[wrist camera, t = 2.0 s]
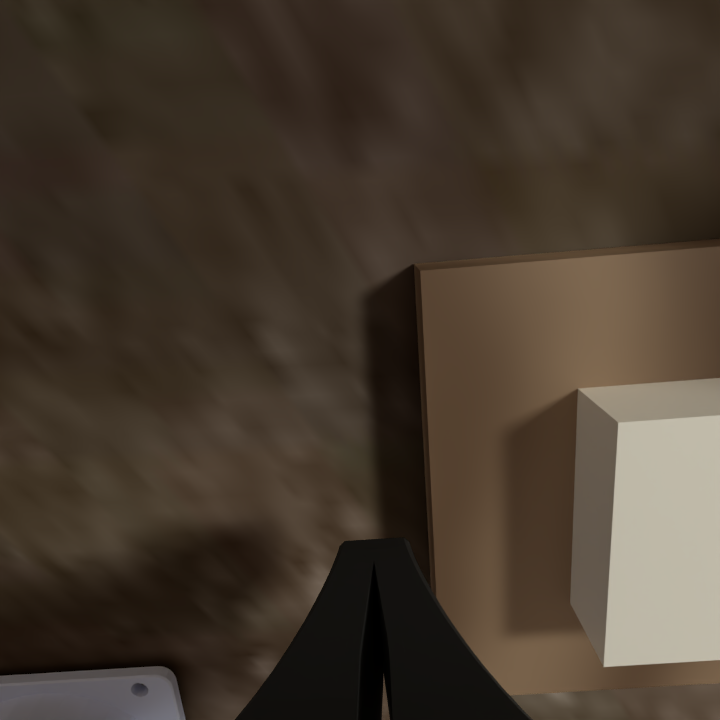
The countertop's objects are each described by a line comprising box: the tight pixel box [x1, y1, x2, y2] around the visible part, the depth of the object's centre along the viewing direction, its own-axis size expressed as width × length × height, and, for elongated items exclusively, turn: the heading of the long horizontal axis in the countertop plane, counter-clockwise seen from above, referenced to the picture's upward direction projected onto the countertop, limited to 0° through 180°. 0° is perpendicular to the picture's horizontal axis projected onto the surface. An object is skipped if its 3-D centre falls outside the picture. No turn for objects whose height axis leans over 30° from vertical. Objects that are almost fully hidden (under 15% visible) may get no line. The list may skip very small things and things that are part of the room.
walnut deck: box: [414, 239, 720, 695], centre depth 14 cm, size 12×12×2 cm
